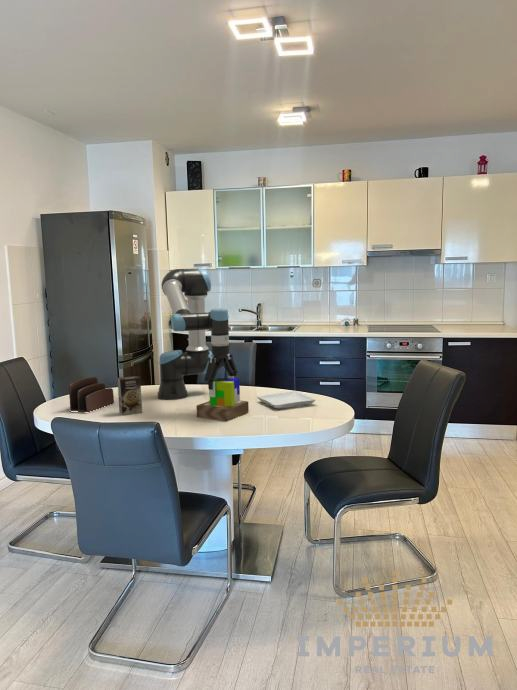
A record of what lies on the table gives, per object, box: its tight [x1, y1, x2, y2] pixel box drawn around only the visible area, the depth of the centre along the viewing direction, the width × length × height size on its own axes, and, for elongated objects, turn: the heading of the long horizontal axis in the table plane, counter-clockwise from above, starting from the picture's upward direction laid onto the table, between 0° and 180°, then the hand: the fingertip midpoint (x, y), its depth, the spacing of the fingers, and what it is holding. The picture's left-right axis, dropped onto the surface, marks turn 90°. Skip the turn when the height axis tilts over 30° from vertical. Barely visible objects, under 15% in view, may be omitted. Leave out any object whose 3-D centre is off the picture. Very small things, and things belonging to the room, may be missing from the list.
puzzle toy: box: [209, 377, 241, 406], centre depth 219 cm, size 10×10×10 cm
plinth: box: [196, 400, 250, 422], centre depth 221 cm, size 16×16×5 cm
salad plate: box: [256, 390, 316, 410], centre depth 238 cm, size 21×21×3 cm
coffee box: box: [117, 375, 143, 416], centre depth 229 cm, size 9×6×16 cm
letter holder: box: [68, 376, 115, 413], centre depth 241 cm, size 10×20×14 cm, turn 159°
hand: (222, 393), depth 220 cm, fingers open, 13 cm apart
